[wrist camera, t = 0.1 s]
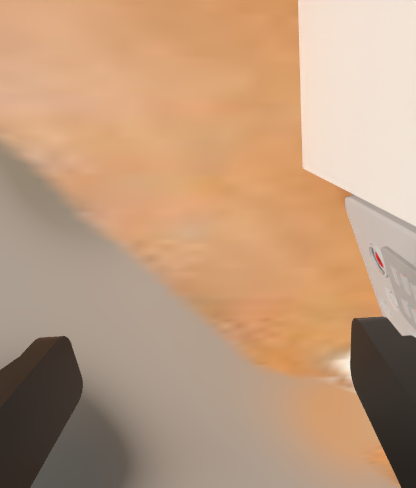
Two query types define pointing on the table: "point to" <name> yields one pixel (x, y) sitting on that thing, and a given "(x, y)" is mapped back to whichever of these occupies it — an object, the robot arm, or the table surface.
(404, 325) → the rounded white slab
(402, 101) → the tall stand
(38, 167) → the table surface
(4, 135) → the table surface
